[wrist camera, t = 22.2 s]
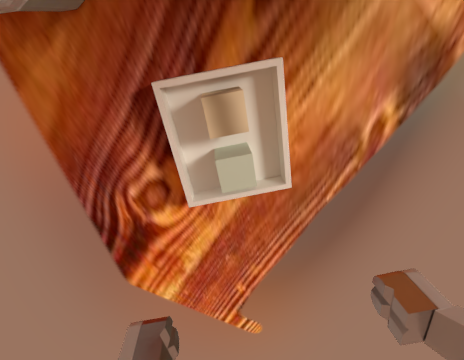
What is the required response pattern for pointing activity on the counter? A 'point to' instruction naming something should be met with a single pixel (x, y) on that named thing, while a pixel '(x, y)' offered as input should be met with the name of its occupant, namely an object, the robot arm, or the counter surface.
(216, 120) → the maple block
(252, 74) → the tray
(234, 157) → the sage block
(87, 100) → the counter surface
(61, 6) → the disposable coffee cup
